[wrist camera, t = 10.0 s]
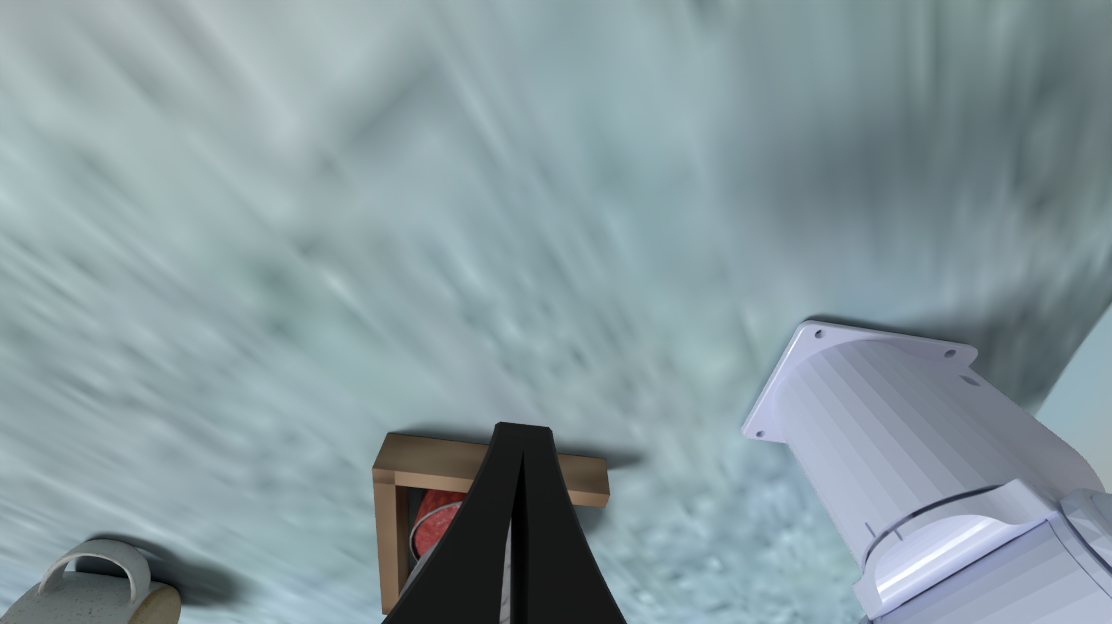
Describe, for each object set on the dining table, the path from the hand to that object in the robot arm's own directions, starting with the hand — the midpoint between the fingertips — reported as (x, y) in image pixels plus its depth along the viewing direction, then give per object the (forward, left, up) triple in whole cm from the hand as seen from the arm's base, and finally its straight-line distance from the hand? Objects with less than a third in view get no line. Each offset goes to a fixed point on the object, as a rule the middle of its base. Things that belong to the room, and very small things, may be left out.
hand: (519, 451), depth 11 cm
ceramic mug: (+28, +32, -11) cm, 43 cm away
